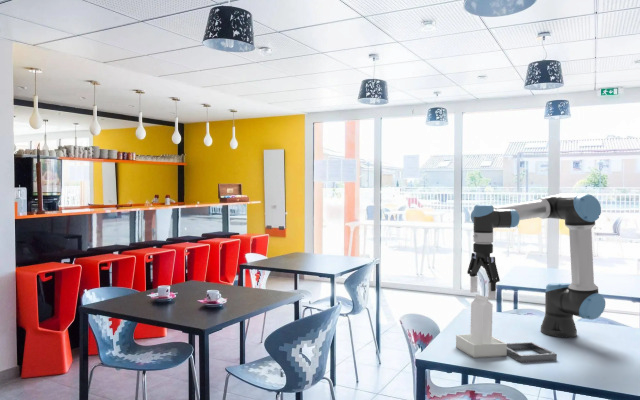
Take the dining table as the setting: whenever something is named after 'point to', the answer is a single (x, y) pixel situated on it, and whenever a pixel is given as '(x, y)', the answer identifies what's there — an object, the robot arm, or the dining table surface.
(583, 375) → the dining table surface
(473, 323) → the milk
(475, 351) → the bin
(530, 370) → the dining table surface
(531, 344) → the collar
